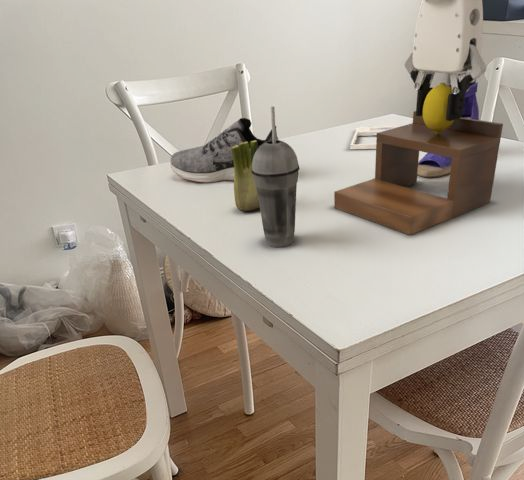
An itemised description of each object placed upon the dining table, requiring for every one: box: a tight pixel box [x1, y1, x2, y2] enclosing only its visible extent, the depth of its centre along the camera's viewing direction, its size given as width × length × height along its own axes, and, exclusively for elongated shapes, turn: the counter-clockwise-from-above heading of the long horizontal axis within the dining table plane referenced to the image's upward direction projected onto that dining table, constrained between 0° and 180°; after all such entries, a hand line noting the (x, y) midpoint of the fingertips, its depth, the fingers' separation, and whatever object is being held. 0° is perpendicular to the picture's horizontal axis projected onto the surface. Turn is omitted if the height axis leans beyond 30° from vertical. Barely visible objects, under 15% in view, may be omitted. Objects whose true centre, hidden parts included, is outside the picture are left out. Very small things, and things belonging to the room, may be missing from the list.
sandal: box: [417, 81, 480, 179], centre depth 109 cm, size 8×20×15 cm, turn 132°
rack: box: [333, 110, 504, 236], centre depth 92 cm, size 20×18×13 cm
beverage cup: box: [251, 106, 301, 248], centre depth 81 cm, size 7×7×20 cm
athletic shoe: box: [170, 117, 279, 184], centre depth 114 cm, size 10×27×12 cm, turn 71°
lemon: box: [423, 82, 454, 134], centre depth 89 cm, size 6×6×8 cm
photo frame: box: [349, 125, 402, 150], centre depth 133 cm, size 15×1×18 cm
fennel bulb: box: [231, 140, 260, 212], centre depth 97 cm, size 6×5×12 cm
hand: (438, 115), depth 90 cm, fingers closed on lemon, 5 cm apart
